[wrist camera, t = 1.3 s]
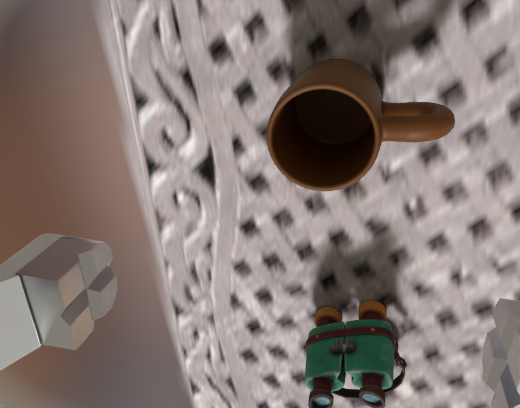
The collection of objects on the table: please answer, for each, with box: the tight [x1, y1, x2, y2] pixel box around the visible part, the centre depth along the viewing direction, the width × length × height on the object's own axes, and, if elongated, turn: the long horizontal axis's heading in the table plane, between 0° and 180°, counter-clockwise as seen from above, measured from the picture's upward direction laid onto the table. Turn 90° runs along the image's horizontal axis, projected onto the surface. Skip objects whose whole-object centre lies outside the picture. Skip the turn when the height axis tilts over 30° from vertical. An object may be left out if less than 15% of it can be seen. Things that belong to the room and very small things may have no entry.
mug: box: [267, 59, 455, 191], centre depth 32 cm, size 12×8×9 cm, turn 99°
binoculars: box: [305, 300, 407, 408], centre depth 42 cm, size 9×11×10 cm
